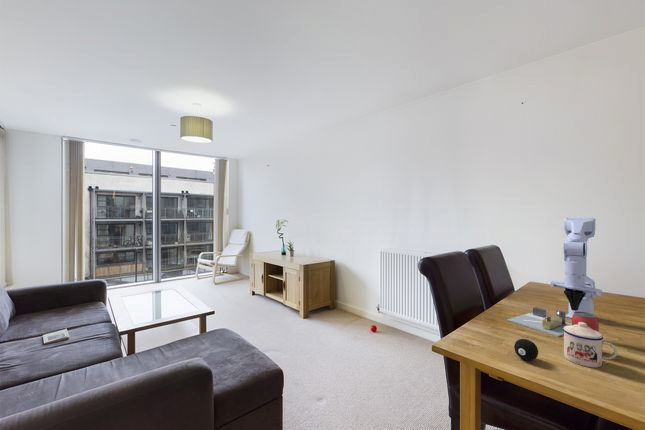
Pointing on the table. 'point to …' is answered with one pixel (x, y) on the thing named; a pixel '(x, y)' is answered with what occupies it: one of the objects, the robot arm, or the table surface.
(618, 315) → the table surface
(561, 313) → the door knob
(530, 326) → the door panel
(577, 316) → the beer can
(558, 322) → the swing bar
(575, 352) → the teacup with lid
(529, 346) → the billiard ball
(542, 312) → the block
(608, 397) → the table surface
